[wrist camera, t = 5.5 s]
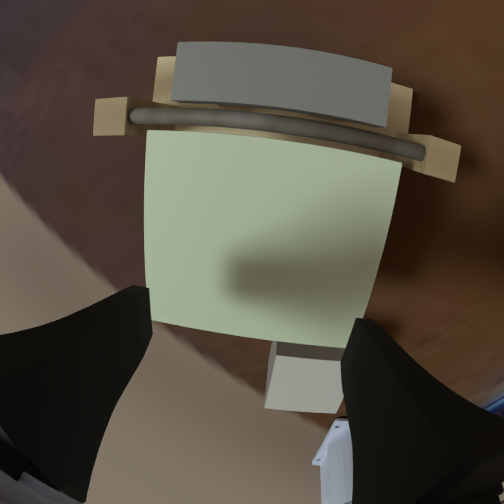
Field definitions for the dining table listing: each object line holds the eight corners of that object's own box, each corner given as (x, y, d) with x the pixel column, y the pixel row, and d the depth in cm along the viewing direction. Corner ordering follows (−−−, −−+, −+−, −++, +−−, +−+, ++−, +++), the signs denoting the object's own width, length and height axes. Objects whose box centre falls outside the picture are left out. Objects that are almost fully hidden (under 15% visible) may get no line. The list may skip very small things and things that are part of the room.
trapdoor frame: (397, 166, 17) (453, 187, 10) (154, 134, 18) (92, 140, 11) (407, 90, 15) (467, 75, 8) (162, 59, 16) (105, 31, 9)
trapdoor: (348, 335, 15) (352, 352, 14) (156, 307, 15) (146, 322, 14) (402, 80, 10) (415, 75, 9) (166, 51, 11) (154, 43, 9)
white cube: (329, 366, 23) (335, 413, 18) (268, 360, 23) (264, 407, 19) (346, 316, 21) (358, 362, 17) (278, 309, 21) (276, 355, 17)
